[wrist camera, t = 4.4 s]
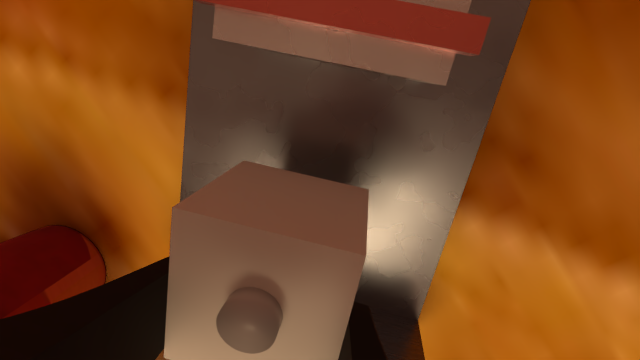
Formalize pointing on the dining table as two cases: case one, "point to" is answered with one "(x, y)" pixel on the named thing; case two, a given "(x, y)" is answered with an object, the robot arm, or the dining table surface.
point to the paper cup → (47, 268)
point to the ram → (358, 32)
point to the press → (354, 145)
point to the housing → (264, 266)
